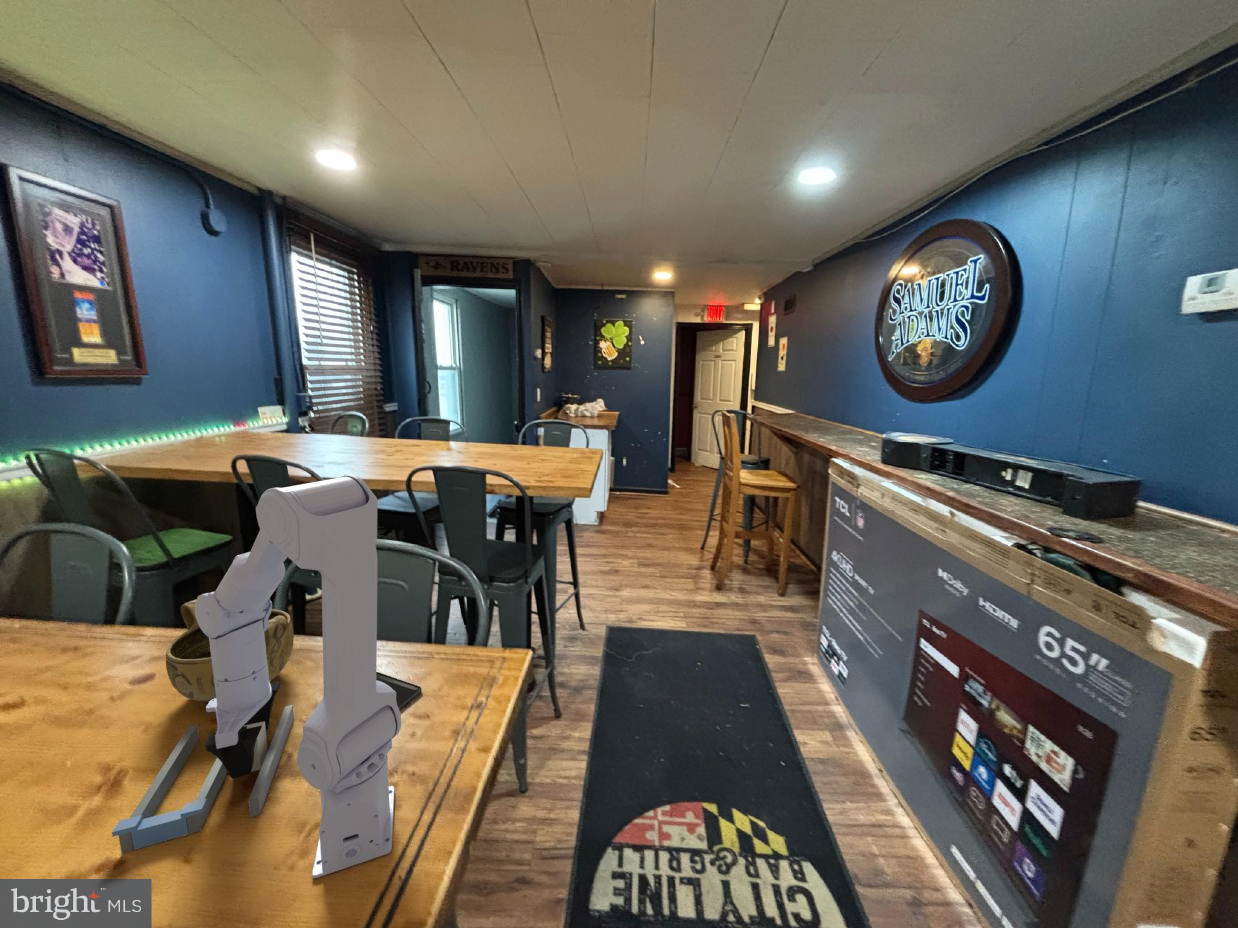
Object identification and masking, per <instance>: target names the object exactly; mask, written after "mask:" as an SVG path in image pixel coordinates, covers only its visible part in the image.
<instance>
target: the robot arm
mask: <svg viewBox="0 0 1238 928" xmlns="http://www.w3.org/2000/svg"><path fill="white" fill-rule="evenodd" d="M255 513H256V519H257V524H258V527H259V531H258V534H257V536H256V537H255V541H254V542H253V545H252V548H251V550H250V551H248V552H245V553H241V554H238V555H236V556H235V557H234V558H233V560H232V563H231V565H230V566H229V568H228V570H227V572H225V575H224V576H223V578H222V580H221V581H220V582H219V584H218V586H217V588H216V590H215V591H211V592H206V593H202V594H200V595H198V596H197V598H196V599H197V601H196V603H195V616H196V619H197V622H198V625H199V627H200V628H201V630H202V631H203V633H204V634H205V635H207V636H208V637H209V643H210V651H211V659H212V668H213V676H214V684H215V692H216V698H215V699H212V700H211V701H210V702H207V703H208V704H206V706H205V711H206V713H213V712H215V716H216V723H217V729H216V732H211V733H210V734H209V735H208V736H207V739H206V741H205V742H204V746H205V747H204V748H205V750H206V752H208V753H210V754H212V755H213V756H214V757H216V759H217V758H218V759H219V760H220V761H221V762H222V764H223V765H224V767H225V768H226V770H227V774H228V776H229V777H230V778H231V779H237V778H242V777H245V776H249V775H250V774H251V773H252V771H251V770H252V767H253V762H254V749H255V743H256V739H257V737H258V735H259V733H260V730H261V728H262V726H257V727H252V728H248V729H247V726H245V725H250V724H254V723H259V722H264V721H265V728H266V735H267V734H268V731H269V728H270V722H271V714H272V710H273V704H274V700H275V698H276V694H277V693H278V692H279V688H280V687H281V683H280V681H278V680H272V681H269V672H268V665H267V655H266V645H265V635H264V632H265V631H266V630H267V629H268V627H269V625H268V618H269V616H270V614H271V611H272V609H273V602H272V601H271V596H272V595H273V594H274V592H275V591H276V589H277V588H278V587H279V585H280V583H282V581H283V580H284V578H285V574H286V567H285V564H284V562H285V561H286V560H287V559H289V560H291V561H292V563H293V564H295V565H297V568H299V569H301V570H302V569H303V570H311V571H318V572H319V573H320V576H321V609H322V610H321V616H322V618H321V619H322V620H321V621H322V622H321V623H322V624H321V625H322V666H323V667H322V675H323V682H322V683H323V697H322V699H321V700H320V702H319V703H318V704H317V706H316V707H315V709H313V711H312V713H311V714H310V715H309V717H308V718H307V719H306V721H305V722H304V724H303V726H302V738H301V741H300V743H299V745H298V749H297V750H298V751H297V754H296V755H297V756H296V758H297V765H298V769H299V771H300V773H301V775H302V776H303V778H304V780H305V781H306V782H307V783H308V784H309V785H310V786H311V787H312V788H314V789H317V790H319V791H320V792H319V793H320V804H321V819H320V822H319V829H318V832H319V837H318V843H317V848H316V853H315V856H314V862H313V867H312V872H311V876H312V878H314V879H318V878H320V877H323V876H326V875H329V874H331V873H334V872H338V871H341V870H344V869H347V868H349V867H353V866H356V865H358V864H362V863H364V862H367V861H370V860H373V859H376V858H379V857H382V856H385V855H388V854H389V853H390V852H391V851H392V847H393V828H394V827H393V826H394V811H395V810H394V809H395V786H394V785H389V768H388V767H389V765H388V753H389V752H390V750H391V749H392V748H393V739H394V738H395V737H396V736H397V735H399V733H400V731H401V727H402V715H401V711H399V708H398V706H397V702H396V692H395V691H394V690H393V689H392V688H391V687H390V686H388V685H387V684H385V683H383V682H381V681H377V680H376V672H377V653H378V652H377V651H378V649H377V648H378V647H377V643H378V642H377V641H378V640H377V639H378V637H377V636H378V629H377V628H378V553H377V546H376V544H377V542H378V498H377V496H376V495H375V494H374V492H373V491H372V490H371V489H370V488H369V486H368V485H367V483H366V482H365V481H364V480H363V479H362V478H361V477H359V476H357V475H355V474H344V475H342V476H340V477H335V478H330V479H325V480H318V481H314V482H313V481H312V482H308V483H307V482H306V483H302V484H296V485H291V486H286V487H285V486H284V487H272V488H268V489H266V490H265V491H264V492H262V494H261V496H260V498H259V500H258V504H257V505H256V507H255ZM244 726H245V727H244Z"/></svg>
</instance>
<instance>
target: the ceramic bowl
mask: <svg viewBox="0 0 1238 928" xmlns="http://www.w3.org/2000/svg"><path fill="white" fill-rule="evenodd" d="M196 601H197V598H196V599H193V600H190V601H188V602H184V604H182V605H181V606H180V610H179V611H180V613H181V617H182V619H183V621H184V623H185V624H184V625H185V626H186V627H187V630H186V631H185V632H183V633H182V634H180V635H178V636H177V637H176V638H174V639H173V640H172V641H171V642H170V644H169V645H168V646H167V648H166V654H165V668H166V673H167V676H168V679H169V682H170V684H171V686H173V688H174V689H175V690H176V691H177V692H178V693H179V694H180V695H181V696H183V697H184V698H186V699H190V700H193V701H198V702H206V703H209V702H210V701H211V700H212V699H215V698H216V692H215V684H214V676H213V668H212V659H211V651H210V643H209V637H208V636H207V635H205V634H204V633H203V631H202V630H201V628H200V627H199V625H198V622H197V619H196V616H195V603H196ZM268 625H269V627H268V629H267V630H266V631H265V632H264V635H265V645H266V655H267V665H268V672H269V681H270V682H272V681H274V679H275V678H276V677H277V676H278V675H279V674H280V673H281V672H282V671H283V670H284V668H285V667H286V665H287V664H288V662H289V660H290V658H291V655H292V653H293V647H294V639H295V637H294V636H295V635H294V628H293V622H292V620H291V616H290V614H289V613H288V612H285V611H283V610H279V609H273V608H272V611H271V614H270V616H269V618H268Z"/></svg>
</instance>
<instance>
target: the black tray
mask: <svg viewBox="0 0 1238 928" xmlns="http://www.w3.org/2000/svg"><path fill="white" fill-rule="evenodd" d="M376 680H377V681H381V682H383V683H385V684H387V685H388V686H390V687H391V688H392V689H393V690H394V691H395V692H396V702H397V706H398V708H399V711H400V712H402V711H403V710H404V709H405V708H407V707H408V706H409V705H410V704H411V703H413V702H414V701H415V700H416V699H418V698H419V697H420V696H421V695H422V687H421V686H419V685H416V684H414V683H411V682H408V681H404V680H401V679H399V678H397V677H395V676H394V677H393V676H390V675H388V674H384V673H382V672H378V671H376Z"/></svg>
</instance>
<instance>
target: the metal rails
mask: <svg viewBox="0 0 1238 928" xmlns="http://www.w3.org/2000/svg"><path fill="white" fill-rule="evenodd" d="M294 719H295V716H294V705H293V704H291V705H286V706H285V707H284V709H283V712H282V714H281V716H280V718H279V721H278V725H277V727H276V729H275V732H274V734H273V737H272V740H271V742H270V745H269V748H268V752H267V754H266V757H265V759H264V762H263V764H262V767H261V769H259V773H258V775H257V777H256V780H255V783H254V786H253V788H252V791H251V793H250V796H249V798H248V809H249V818H253V817H256V816H261V813H262V810H263V807H264V805H265V802H266V799H267V796H268V793H269V791H270V788H271V785H272V783H273V779H274V776H275V775H276V774H275V773H276V771H277V768H278V765H279V762H280V759H281V757H282V753H283V751H284V748H285V745H286V743H287V740H288V736H289V735H290V731H291V728H292V726H293V722H294ZM199 741H200V733H199V727H198V724H193V725H189V726H188V727H187V728H186V730H185V732H184V733H183V734H182V736H181V738H180V740H179V741H178V742H177V744H176V745H175V747H174V749H173V750H172V751H171V753H170V754H169V756H168V757H167V759H166V761H165V762H164V764H163V765H162V767H161V769H160V770H159V772H158V773H157V775H156V776H155V777H154V780H153V781H152V783H151V784H150V786H149V787H148V789H147V791H146V792H145V793H144V794H143V796H142V798H141V800H140V801H139V803H138V804H137V806H136V807H135V809H134V810H133V812H132V814H131V815H130V817H129V818H124V819H121V820H119V821H118V822H117V824H116V825H115V827H114V828H113V830H112V832H111V835H112V837H116V836H118V840H119V845H120V852H121V854H124V853H128V852H131V851H134V850H139V849H142V848H146V847H149V846H153V845H156V843H157V844H161V843H163V842H162V841H164V842H168V841H170V839H171V840H174V839H173V838H175V839H179V838H182V837H185V836H188V835H192V833H193V834H196V833H199V832H198V831H201V830H200V829H202V827H203V825H204V823H205V820H207V817H208V815H209V812H210V810H211V808H212V806H213V804H214V801H215V799H216V797H217V795H218V794H219V791H220V789H221V787H222V784H223V783H224V781H225V779H226V777H227V774H228V772H227V770H226V768H225V767H224V765H223V764H222V762H221V761H220V760H219V759H218V758H217V757H216V759H215V760H214V763H213V765H212V767H211V769H210V770H209V773H208V774H207V776H206V778H205V780H204V783H203V784H202V787H200V789H199V792H198V794H197V795H196V798H195V800H194V801H191V802H186V803H185V805H184V807H183V808H181V809H177V810H173V811H169V812H166V813H162V814H158V815H155V814H156V813H157V811H158V810H159V808H160V806H161V804H162V802H163V801H164V799H165V798H166V795H167V794H168V793H169V791H170V789H171V787H172V785H173V784H174V782H175V780H176V779H177V777H178V775H179V774H180V772H181V770H182V769H183V767H184V765H185V764H186V762H187V761H188V759H189V756H190V755H191V753H192V752H193V750H194V749H195V747H196V745H197V743H198V742H199ZM195 832H196V833H195ZM184 835H185V836H184ZM181 836H182V837H181ZM167 840H168V841H167Z"/></svg>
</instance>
